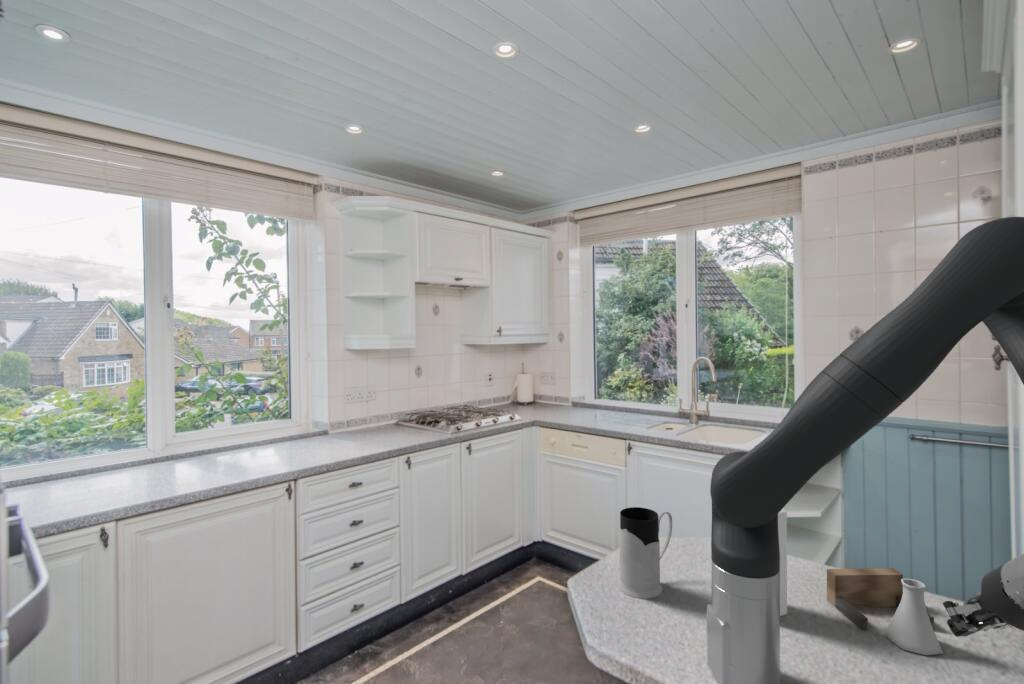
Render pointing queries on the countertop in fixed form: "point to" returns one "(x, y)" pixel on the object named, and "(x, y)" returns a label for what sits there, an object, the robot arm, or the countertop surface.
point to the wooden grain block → (864, 591)
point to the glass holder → (641, 552)
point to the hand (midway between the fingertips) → (955, 628)
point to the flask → (913, 621)
